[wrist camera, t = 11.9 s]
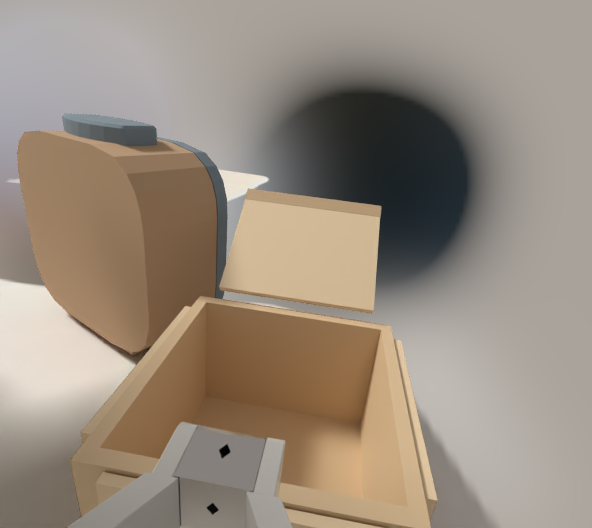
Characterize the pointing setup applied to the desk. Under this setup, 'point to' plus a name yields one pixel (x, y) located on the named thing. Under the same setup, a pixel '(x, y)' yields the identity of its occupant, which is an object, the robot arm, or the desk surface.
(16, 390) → the desk surface
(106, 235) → the alarm clock
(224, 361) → the carton
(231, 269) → the flap
